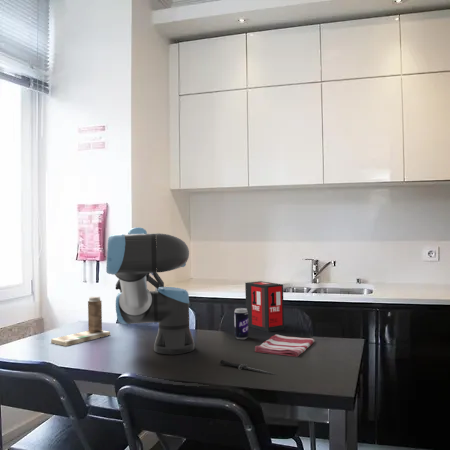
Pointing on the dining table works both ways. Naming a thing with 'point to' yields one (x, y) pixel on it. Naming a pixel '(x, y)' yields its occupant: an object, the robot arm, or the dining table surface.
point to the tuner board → (79, 337)
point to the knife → (244, 367)
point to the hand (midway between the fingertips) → (140, 299)
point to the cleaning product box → (265, 305)
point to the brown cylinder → (94, 314)
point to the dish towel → (285, 345)
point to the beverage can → (241, 323)
